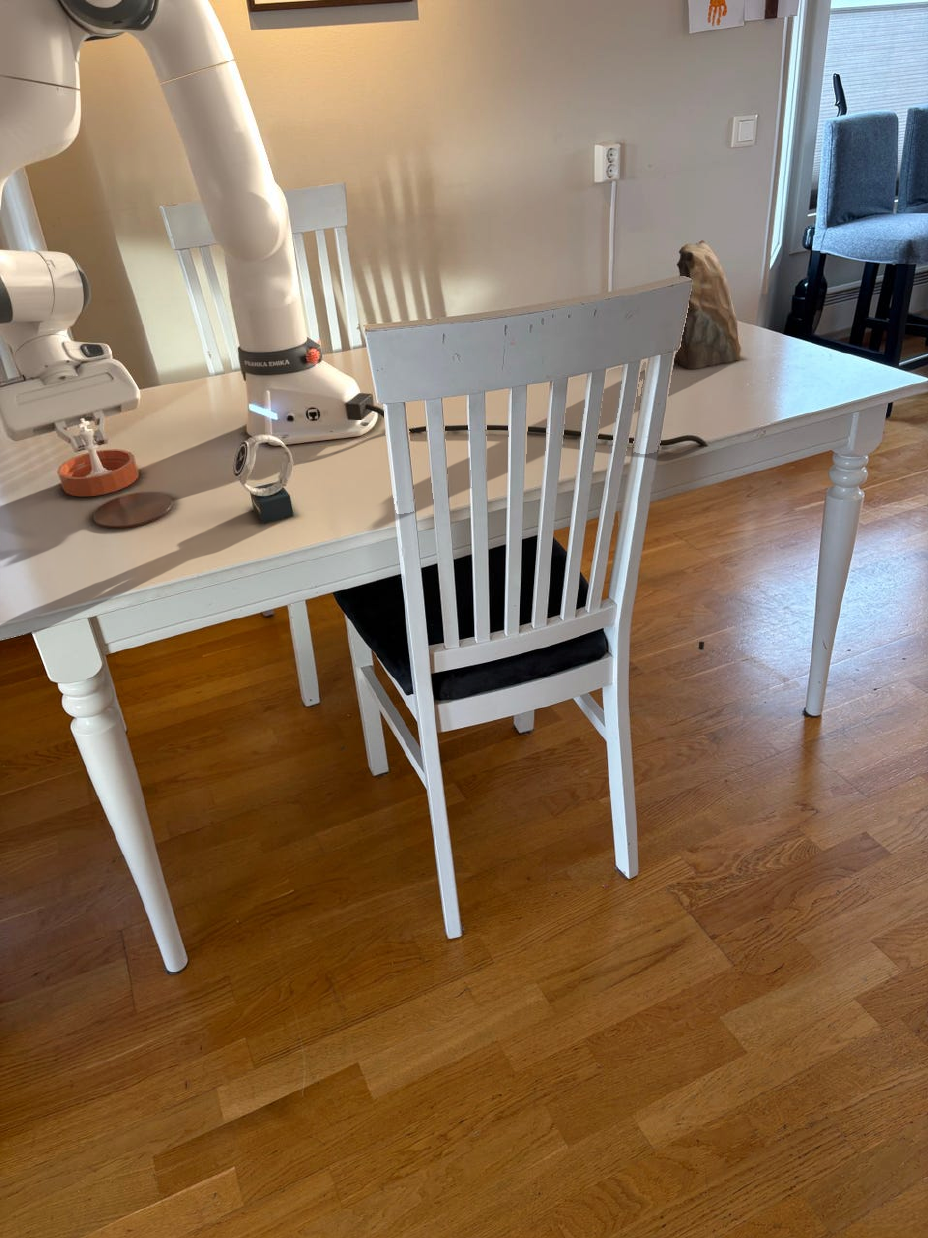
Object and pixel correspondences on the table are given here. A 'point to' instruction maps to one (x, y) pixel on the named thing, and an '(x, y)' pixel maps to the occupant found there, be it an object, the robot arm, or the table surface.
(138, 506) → the coaster
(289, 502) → the watch
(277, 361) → the robot arm
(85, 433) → the chess piece
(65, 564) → the table surface
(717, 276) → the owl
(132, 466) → the dish
